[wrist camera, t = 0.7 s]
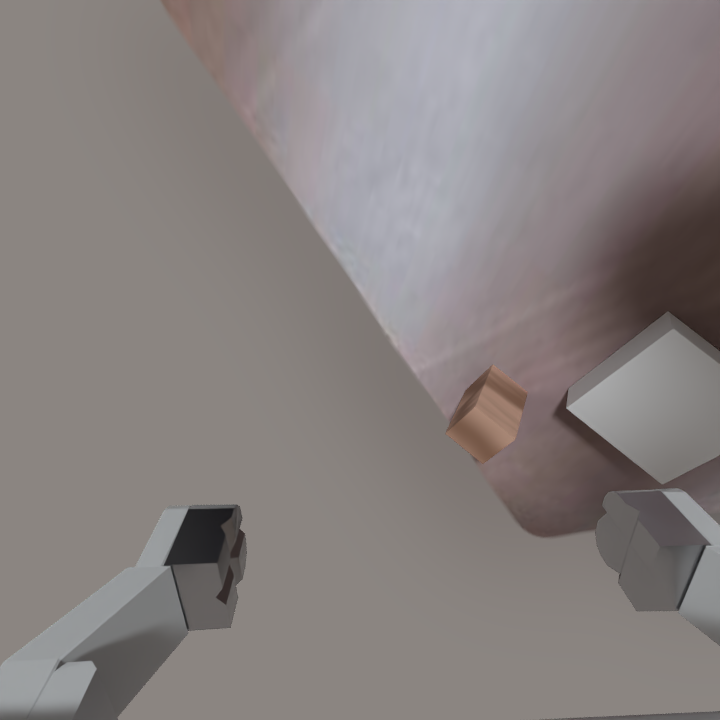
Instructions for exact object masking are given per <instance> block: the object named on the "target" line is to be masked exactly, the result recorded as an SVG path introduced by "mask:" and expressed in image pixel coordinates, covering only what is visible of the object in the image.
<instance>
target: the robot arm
mask: <svg viewBox="0 0 720 720" xmlns="http://www.w3.org/2000/svg"><path fill="white" fill-rule="evenodd" d="M602 506H603V508H604V509H605V511H606V512H607V513H606V514H605V515H604V516H603V517H601V518H600V519H599V520H598V522H597V527H596V532H595V534H596V541H597V547H598V549H599V552H600V554H601V556H602V557H603V559H604V561H605V563H606V564H607V565H608V566H609V567H611V568H612V569H614V570H615V571H617V572H618V573H620V575H619V582H618V583H619V584H620V586H621V588H622V589H623V591H624V592H625V594H626V595H627V597H628V599H629V600H630V602H631V603H632V605H633V606H634V608H635V609H636V611H679V612H678V613H679V614H680V615H681V616H683V617H684V618H685V619H686V620H688V621H689V622H690V623H692V624H693V625H694V626H695V627H696V628H698V629H699V630H700V631H702V632H703V633H704V634H705V635H707V636H708V637H709V638H710V639H712V640H713V641H714V642H716V643H717V644H718V645H719V646H720V525H718V524H717V523H716V522H715V521H714V520H713V519H712V518H711V517H710V516H709V515H708V514H707V513H706V512H705V511H704V510H703V509H702V508H701V507H700V506H699V505H698V504H697V503H696V502H695V501H694V500H693V499H692V498H691V497H690V496H689V495H688V494H687V493H686V492H685V491H683V490H681V489H679V488H669V489H654V490H632V491H609V492H608V493H607V494H606V495H605V497H604V500H603V504H602ZM241 521H242V515H241V509H240V506H238V505H192V506H169V507H167V508H166V509H165V510H164V511H163V513H162V515H161V517H160V519H159V521H158V523H157V525H156V527H155V529H154V531H153V533H152V535H151V537H150V539H149V541H148V542H147V544H146V546H145V548H144V550H143V552H142V554H141V556H140V558H139V560H138V562H137V564H136V566H135V567H132V568H126V569H125V570H124V571H123V572H121V573H120V574H119V575H117V576H116V577H115V578H113V579H112V580H111V581H110V582H108V583H107V584H105V585H104V586H103V587H102V588H100V589H99V590H98V591H96V592H95V593H94V594H92V595H91V596H90V597H88V598H87V599H86V600H85V601H83V602H82V603H81V604H79V605H78V606H77V607H76V608H74V609H73V610H71V611H70V612H69V613H67V614H66V615H65V616H63V617H62V618H61V619H60V620H58V621H57V622H56V623H54V624H53V625H52V626H50V627H49V628H48V629H46V630H45V631H44V632H42V633H41V634H40V635H39V636H37V637H36V638H35V639H33V640H32V641H31V642H29V643H28V644H27V645H26V646H24V647H23V648H21V649H20V650H19V651H18V652H16V653H15V654H14V655H12V656H11V657H10V658H8V659H7V660H6V661H4V662H3V664H2V665H1V667H0V720H118V719H117V717H118V716H119V715H120V714H121V712H122V711H123V710H124V709H125V708H126V706H127V705H128V704H129V703H130V702H131V700H132V699H133V698H134V697H135V696H136V695H137V694H138V692H139V691H140V690H141V689H142V688H143V686H144V685H145V684H146V683H147V682H148V681H149V679H150V678H151V677H152V676H153V674H154V673H155V672H156V671H157V670H158V668H159V667H160V666H161V665H162V664H163V663H164V662H165V660H166V659H167V658H168V657H169V656H170V654H171V653H172V652H173V651H174V650H175V649H176V647H177V646H178V645H179V644H180V643H181V641H182V640H183V639H184V638H185V637H186V636H187V634H188V631H189V630H190V631H191V630H205V629H220V628H231V624H232V620H233V616H234V612H235V608H236V604H237V600H238V595H237V589H236V585H237V584H238V583H239V582H240V581H241V580H242V579H243V575H244V570H245V564H246V554H247V551H246V538H245V533H244V532H243V531H241V530H240V525H241ZM541 720H720V711H715V712H693V713H672V714H650V715H629V716H607V717H585V718H563V719H541Z"/></svg>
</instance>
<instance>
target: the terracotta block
mask: <svg viewBox="0 0 720 720" xmlns="http://www.w3.org/2000/svg"><path fill="white" fill-rule="evenodd" d="M527 393H528V392H527V391H525V390H524V389H523V388H522V387H520V386H519V385H518V384H517V383H515V382H514V381H513V380H512V379H510V378H509V377H508V376H507V375H505V374H504V373H503V372H502V371H500V370H499V369H498V368H497V367H495V366H494V365H492V366H491V367H490V368H489V369H488V370H486V371H485V372H484V373H483V374H482V375H481V376H480V377H479V378H478V379H477V380H476V381H475V382H474V383H473V384H472V385H471V386H470V387H469V388H468V389H467V390H466V391H465V393H464V395H463V397H462V399H461V402H460V404H459V406H458V408H457V410H456V412H455V414H454V416H453V418H452V421H451V423H450V425H449V427H448V429H447V431H446V434H447V435H448V436H449V437H450V438H452V439H453V440H454V441H455V442H456V443H458V444H459V445H460V446H461V447H463V448H464V449H465V450H466V451H467V452H469V453H470V454H471V455H472V456H474V457H475V458H476V459H477V460H478V461H480V462H481V463H482V464H484V463H485V462H486V461H488V460H489V459H490V458H491V457H493V456H494V455H495V454H497V453H498V452H499V451H501V450H502V449H503V448H505V447H506V446H507V445H509V444H510V443H511V442H513V441H514V440H515V439H516V435H517V432H518V428H519V424H520V420H521V416H522V412H523V408H524V405H525V401H526V397H527Z"/></svg>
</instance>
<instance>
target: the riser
mask: <svg viewBox="0 0 720 720" xmlns="http://www.w3.org/2000/svg"><path fill="white" fill-rule="evenodd" d="M566 408H567V409H568V410H569V411H570V412H572V413H573V414H574V415H575V416H577V417H578V418H579V419H580V420H582V421H583V422H584V423H585V424H587V425H588V426H589V427H590V428H592V429H593V430H594V431H595V432H597V433H598V434H599V435H600V436H602V437H603V438H604V439H605V440H607V441H608V442H609V443H610V444H612V445H613V446H614V447H615V448H617V449H618V450H619V451H620V452H622V453H623V454H624V455H626V456H627V457H628V458H629V459H631V460H632V461H633V462H634V463H636V464H637V465H638V466H639V467H641V468H642V469H643V470H644V471H646V472H647V473H648V474H649V475H651V476H652V477H653V478H654V479H656V480H657V481H658V482H659V483H661V484H662V485H663V484H665V483H667V482H669V481H671V480H673V479H675V478H676V477H678V476H680V475H682V474H684V473H686V472H688V471H690V470H692V469H694V468H696V467H698V466H700V465H702V464H704V463H706V462H708V461H710V460H712V459H714V458H715V457H717V456H719V455H720V351H719V350H718V349H716V348H715V347H714V346H713V345H711V344H710V343H709V342H707V341H706V340H705V339H703V338H702V337H701V336H700V335H698V334H697V333H696V332H694V331H693V330H692V329H690V328H689V327H688V326H687V325H685V324H684V323H683V322H681V321H680V320H679V319H678V318H676V317H675V316H674V315H672V314H671V313H670V312H668V311H667V312H666V313H665V314H664V315H662V316H661V317H660V318H658V319H657V320H656V321H655V322H653V323H652V324H651V325H649V326H648V327H647V328H646V329H644V330H643V331H642V332H640V333H639V334H638V335H637V336H635V337H634V338H633V339H631V340H630V341H629V342H628V343H626V344H625V345H624V346H622V347H621V348H620V349H619V350H617V351H616V352H615V353H613V354H612V355H611V356H610V357H608V358H607V359H606V360H604V361H603V362H602V363H601V364H599V365H598V366H597V367H595V368H594V369H593V370H592V371H590V372H589V373H588V374H586V375H585V376H584V377H582V378H581V379H580V380H579V381H577V382H576V383H575V384H573V385H572V386H571V387H570V388H569V389H568V397H567V406H566Z"/></svg>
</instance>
